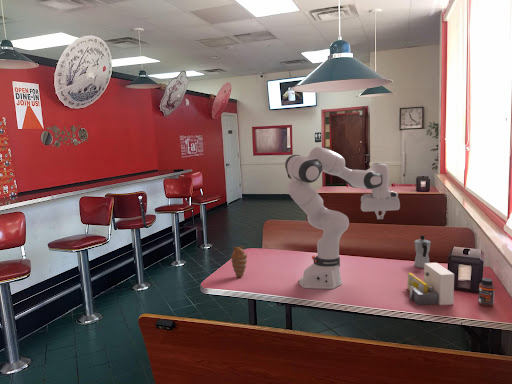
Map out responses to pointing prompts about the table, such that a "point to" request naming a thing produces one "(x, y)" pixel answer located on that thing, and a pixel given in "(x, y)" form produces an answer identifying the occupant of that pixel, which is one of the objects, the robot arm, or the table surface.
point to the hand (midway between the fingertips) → (380, 218)
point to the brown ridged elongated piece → (239, 261)
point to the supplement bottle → (486, 292)
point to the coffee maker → (421, 252)
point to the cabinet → (440, 282)
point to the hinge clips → (423, 296)
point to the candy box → (417, 283)
